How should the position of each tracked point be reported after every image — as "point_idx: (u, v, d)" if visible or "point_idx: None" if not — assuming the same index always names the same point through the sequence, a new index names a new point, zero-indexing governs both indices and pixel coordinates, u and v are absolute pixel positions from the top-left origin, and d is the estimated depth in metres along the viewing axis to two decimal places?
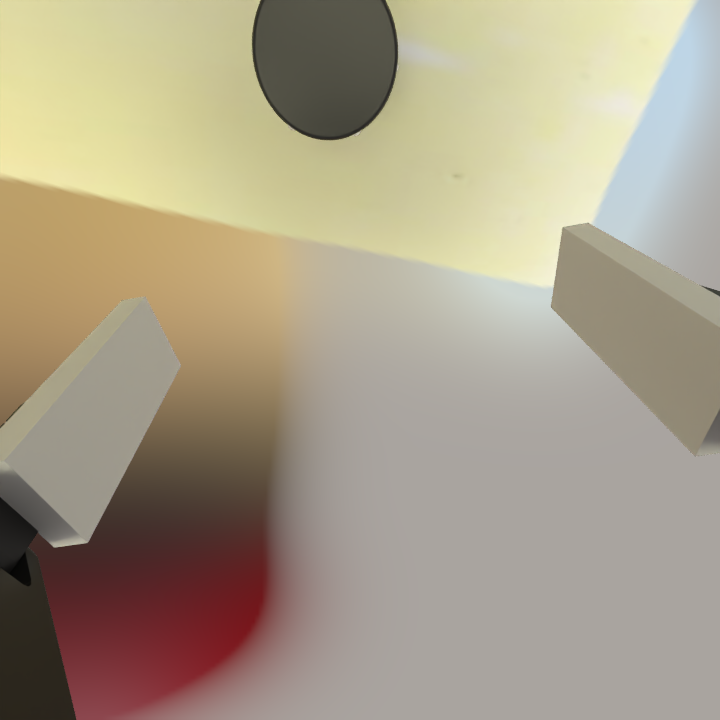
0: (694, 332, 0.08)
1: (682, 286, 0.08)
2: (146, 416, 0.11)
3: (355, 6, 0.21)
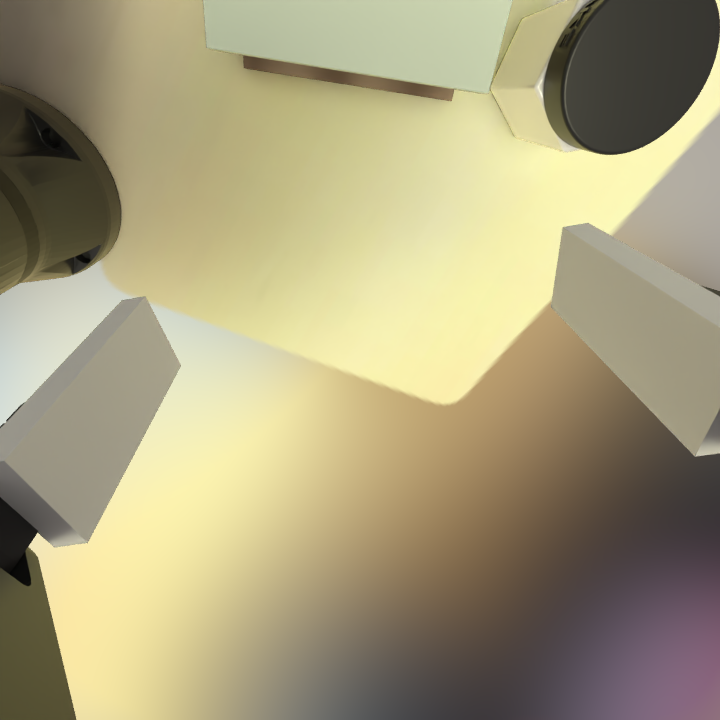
0: (694, 332, 0.08)
1: (682, 286, 0.08)
2: (146, 416, 0.11)
3: (621, 18, 0.20)
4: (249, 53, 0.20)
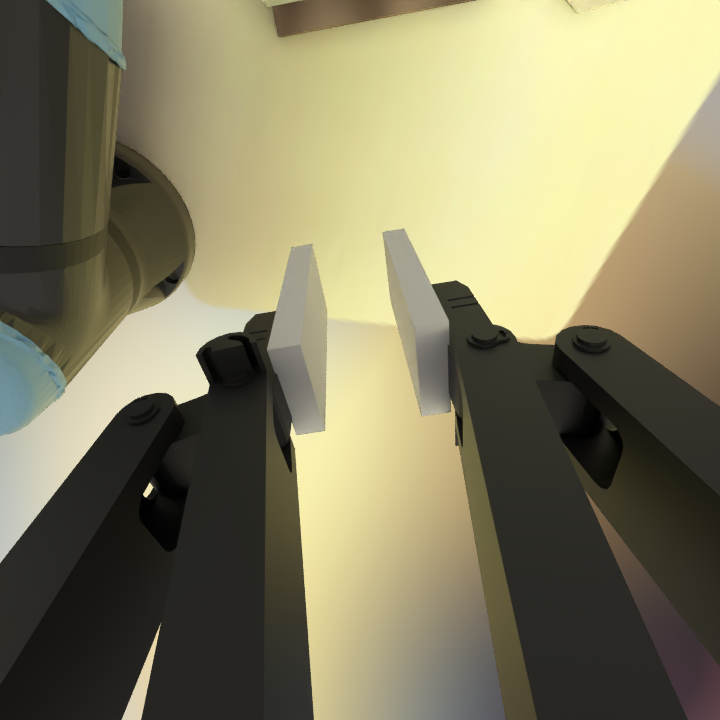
0: (407, 316, 0.10)
1: (417, 281, 0.10)
2: (324, 344, 0.13)
3: None
4: None
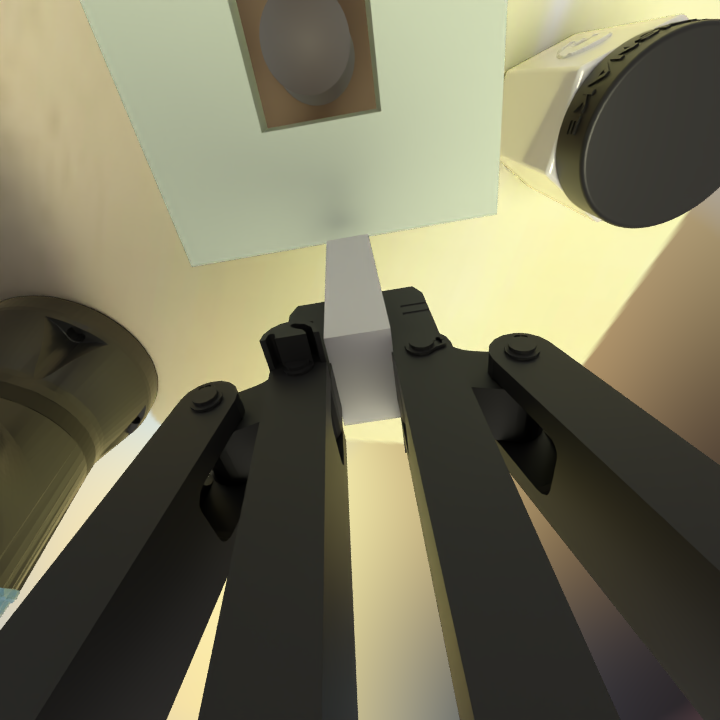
0: None
1: (369, 287, 0.10)
2: None
3: (638, 93, 0.17)
4: (234, 258, 0.19)
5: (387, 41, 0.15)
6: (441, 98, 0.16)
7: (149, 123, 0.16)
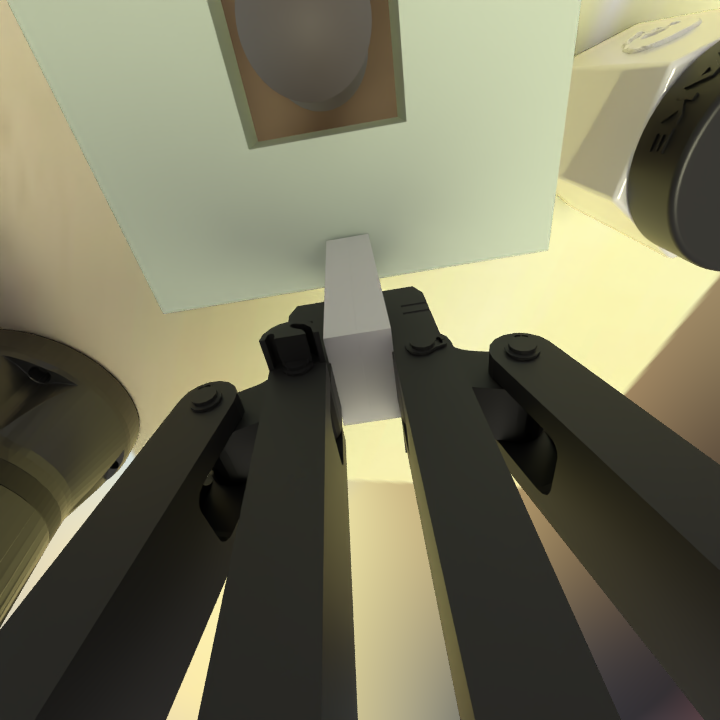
0: None
1: (369, 287, 0.10)
2: None
3: None
4: (216, 303, 0.15)
5: (417, 27, 0.11)
6: (486, 104, 0.12)
7: (99, 137, 0.12)
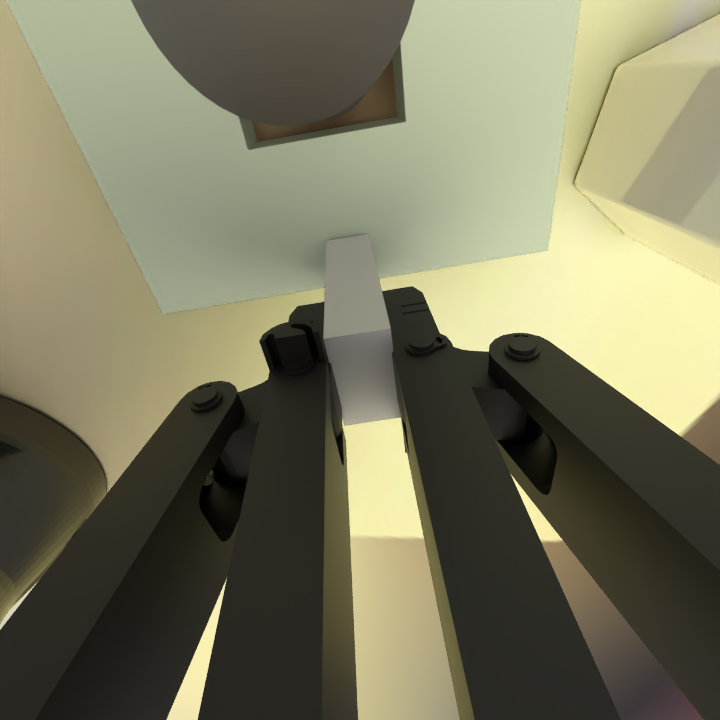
0: None
1: (369, 287, 0.10)
2: None
3: None
4: (216, 304, 0.15)
5: (417, 27, 0.11)
6: (486, 104, 0.12)
7: (99, 137, 0.12)
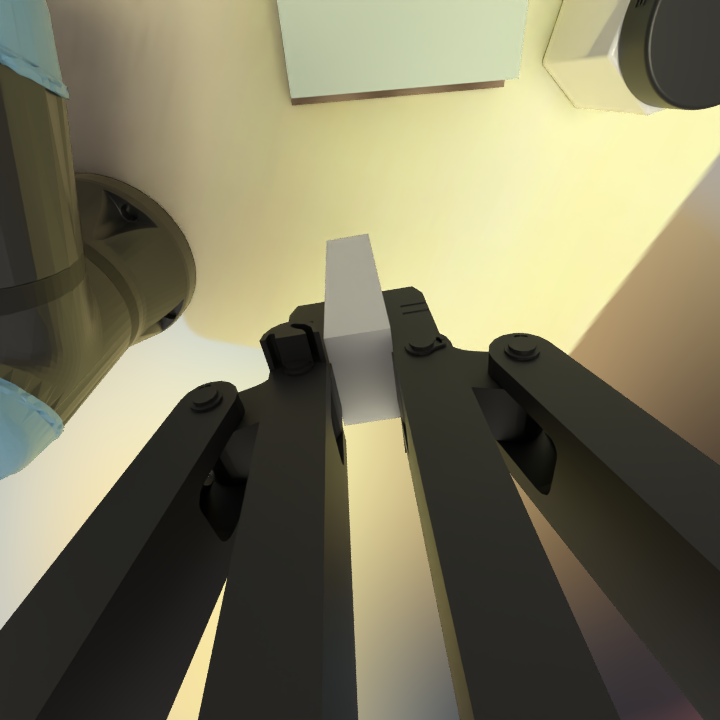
0: None
1: (369, 287, 0.10)
2: None
3: None
4: (323, 94, 0.26)
5: None
6: None
7: None
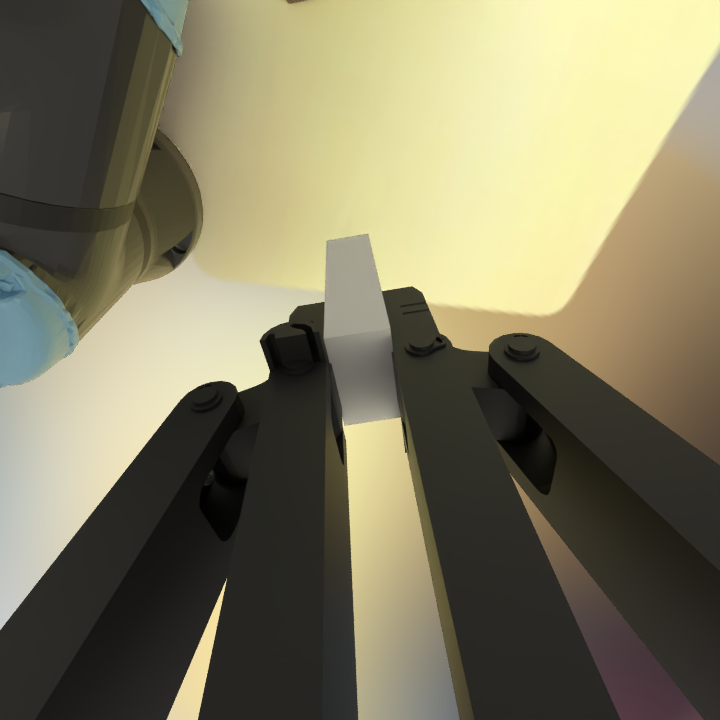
0: None
1: (368, 287, 0.10)
2: None
3: None
4: None
5: None
6: None
7: None
